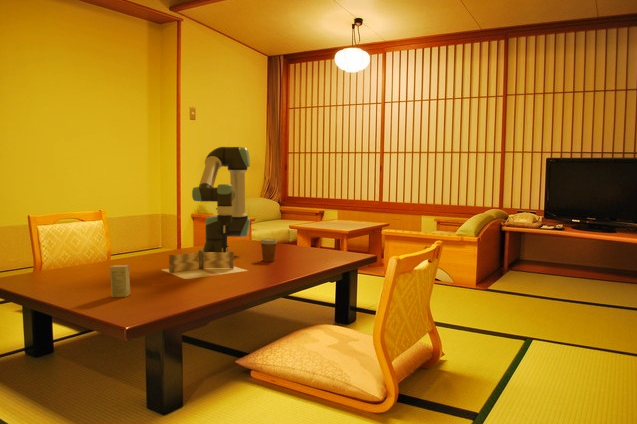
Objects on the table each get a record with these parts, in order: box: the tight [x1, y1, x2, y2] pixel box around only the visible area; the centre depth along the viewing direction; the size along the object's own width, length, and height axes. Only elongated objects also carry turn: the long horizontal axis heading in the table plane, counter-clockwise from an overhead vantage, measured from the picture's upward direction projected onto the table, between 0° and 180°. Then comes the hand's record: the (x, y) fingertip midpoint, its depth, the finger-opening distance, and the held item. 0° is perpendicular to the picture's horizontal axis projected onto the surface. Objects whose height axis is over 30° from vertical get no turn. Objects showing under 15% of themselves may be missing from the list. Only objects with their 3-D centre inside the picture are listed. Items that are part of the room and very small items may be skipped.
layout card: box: [161, 266, 249, 280], centre depth 252 cm, size 28×34×1 cm
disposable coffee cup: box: [260, 238, 278, 262], centre depth 284 cm, size 10×10×12 cm
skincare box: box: [109, 264, 131, 298], centre depth 200 cm, size 6×4×12 cm
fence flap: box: [203, 250, 235, 268], centre depth 255 cm, size 15×2×9 cm, turn 94°
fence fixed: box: [168, 249, 203, 274], centre depth 250 cm, size 18×2×9 cm, turn 130°
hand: (224, 259), depth 258 cm, fingers closed
